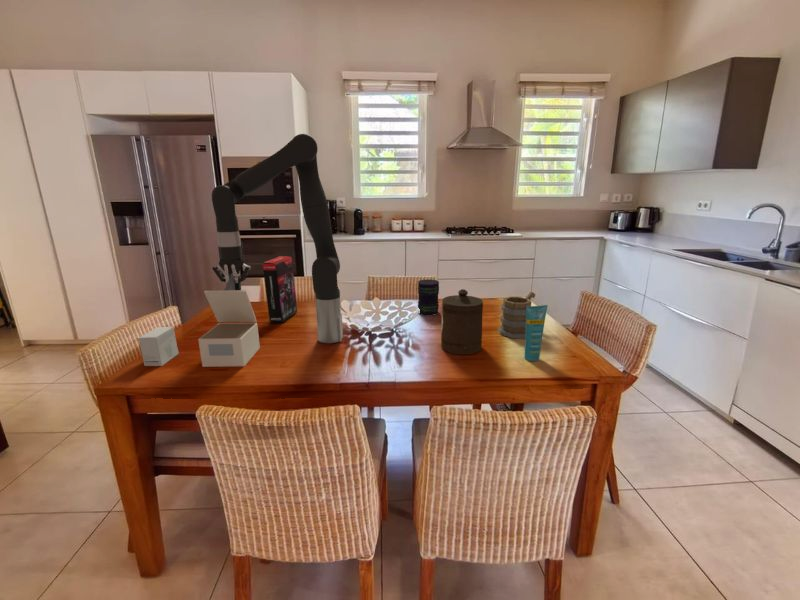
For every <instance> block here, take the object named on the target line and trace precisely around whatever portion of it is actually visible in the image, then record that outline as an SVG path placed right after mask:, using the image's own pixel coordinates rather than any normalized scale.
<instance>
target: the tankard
mask: <svg viewBox="0 0 800 600" xmlns="http://www.w3.org/2000/svg"><path fill="white" fill-rule="evenodd" d="M535 297H536V294H535V293H534V292H533V291H531V292H529V293H528V294H527V295H526V296H524V297H522V296H508V297H504V298H503V301H502V303H501V307H500V308H501V311H502V313H501V315H500V322H501V325H499V326H498V327H497V330H498V332H499V335H500V336H503V335H504V336H503V337H506V336H507V338H509V339H525V338H526V306H532V301H531V299H532V298H533V299H535Z"/></svg>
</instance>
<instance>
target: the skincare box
mask: <svg viewBox="0 0 800 600" xmlns="http://www.w3.org/2000/svg"><path fill="white" fill-rule="evenodd" d="M137 339H138V342H139V347H140V353H141V356H142V361H143V365H144V367H163V366H164V365H165V364H167V363H168V362H169V361H171V360H172V359H174V358H175V357H177V356H178V355H180V353H179V349H178V345H177V339H176V333H175V329H174V326H159V327H158V326H157V327H155V328H153V329H151V330H149V331H148V332H146V333H144V334H143V335H141V336H139V337H137Z"/></svg>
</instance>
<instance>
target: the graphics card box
mask: <svg viewBox="0 0 800 600" xmlns="http://www.w3.org/2000/svg"><path fill="white" fill-rule="evenodd" d="M262 270H263V279H264V287H265V294H266V304H267V310H268V311H267V312H268V319H269V323H270V324H273V323H274V324H276V323H277V324H283V323H285V322H286V321H287V320H288V319H289V318H291V317H292V316H294V315H295V314H297V312H298V306H297V305H298V304H297V296H296V286H295V284H296V283H295V277H294V266H293V258H292V257H291V256H285V255H284V256H283V255H278V256H277V257H275V258H271V259H269V260H266V261H264V262H262Z"/></svg>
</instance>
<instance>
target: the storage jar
mask: <svg viewBox="0 0 800 600" xmlns="http://www.w3.org/2000/svg"><path fill="white" fill-rule="evenodd" d="M417 283H418V284H417V285H418V286H417V293H418V301H417V309H418V308H419V309H420V314H419V315H421V314H422V316H426V315H432V316H434V315H433V314H436V315H438V314H439V307H440V306H439V293H440V292H439V291H440V282H439V280H437V279H421V280H418V282H417ZM437 313H438V314H437Z"/></svg>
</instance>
